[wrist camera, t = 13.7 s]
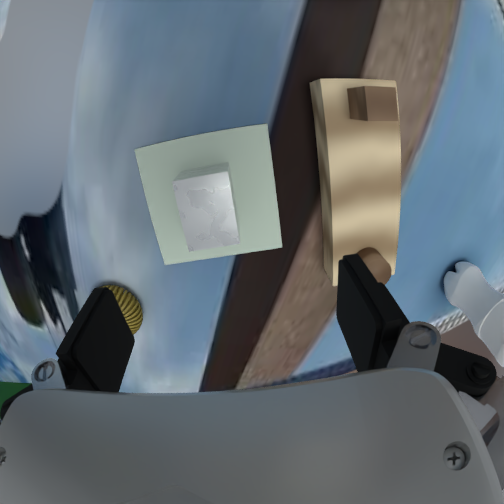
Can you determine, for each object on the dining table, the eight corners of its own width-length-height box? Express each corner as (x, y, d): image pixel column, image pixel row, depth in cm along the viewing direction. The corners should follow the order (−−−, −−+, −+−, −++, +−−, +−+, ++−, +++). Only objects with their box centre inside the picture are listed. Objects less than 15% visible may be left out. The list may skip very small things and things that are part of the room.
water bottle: (459, 295, 40) (540, 398, 18) (432, 294, 39) (518, 413, 17) (475, 258, 37) (571, 356, 15) (449, 254, 36) (556, 367, 14)
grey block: (181, 170, 29) (171, 181, 25) (228, 162, 29) (227, 171, 24) (195, 231, 32) (188, 251, 28) (239, 224, 32) (240, 243, 28)
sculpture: (72, 301, 32) (121, 291, 31) (84, 284, 35) (131, 274, 35) (100, 346, 35) (148, 341, 35) (109, 328, 39) (154, 321, 39)
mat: (135, 149, 28) (134, 149, 28) (266, 123, 28) (267, 123, 27) (165, 263, 34) (164, 264, 34) (281, 245, 34) (282, 247, 34)
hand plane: (309, 82, 26) (334, 73, 19) (378, 82, 26) (417, 78, 18) (323, 268, 36) (343, 307, 29) (381, 258, 36) (409, 292, 28)
